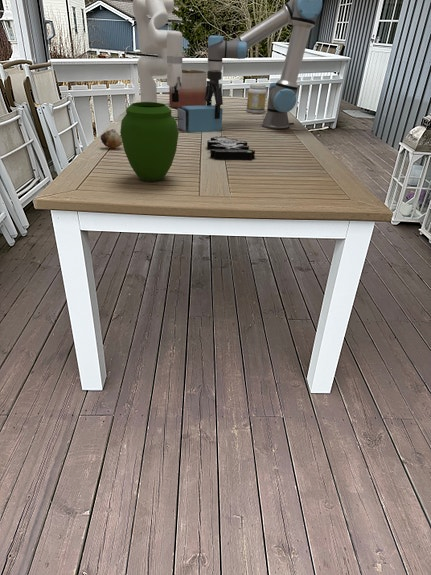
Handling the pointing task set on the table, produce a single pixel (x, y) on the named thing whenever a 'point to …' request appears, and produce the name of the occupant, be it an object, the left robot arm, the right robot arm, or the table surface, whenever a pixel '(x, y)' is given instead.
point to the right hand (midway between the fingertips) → (212, 116)
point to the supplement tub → (256, 98)
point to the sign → (229, 149)
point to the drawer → (182, 118)
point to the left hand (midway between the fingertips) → (175, 101)
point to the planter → (191, 89)
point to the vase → (149, 139)
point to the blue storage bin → (203, 118)
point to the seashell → (111, 139)
